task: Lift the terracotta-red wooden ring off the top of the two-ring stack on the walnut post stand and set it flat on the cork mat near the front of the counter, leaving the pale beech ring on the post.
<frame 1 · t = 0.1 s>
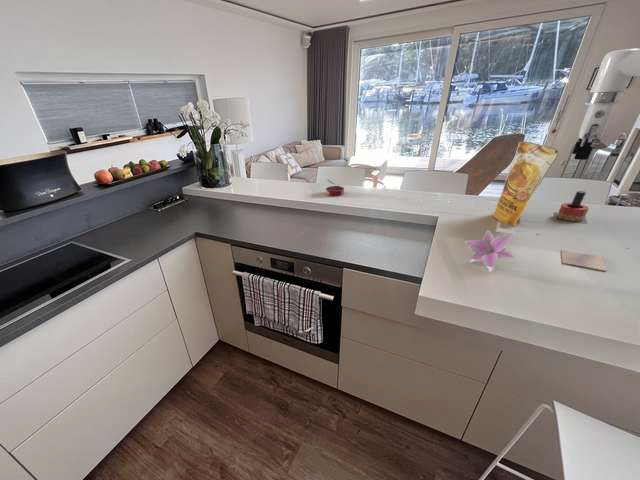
hand: (579, 156, 97), 23 cm above the countertop, tool pointing down, fingers open, 9 cm apart
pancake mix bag: (507, 221, 112), on the countertop
top ring: (571, 212, 106), point 3 cm above the countertop, touching bottom ring
cork mat: (581, 260, 84), on the countertop
bottom ring: (569, 217, 107), point 1 cm above the countertop, touching post stand, top ring
post stand: (568, 220, 107), on the countertop
red bowl with spoon: (334, 194, 161), on the countertop
lily: (484, 263, 88), on the countertop
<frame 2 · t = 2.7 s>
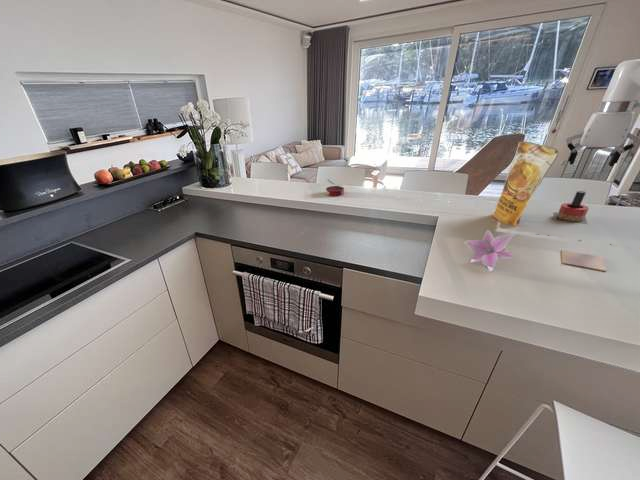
hand: (590, 164, 97), 20 cm above the countertop, tool pointing down, fingers open, 9 cm apart
nothing on the countertop moved.
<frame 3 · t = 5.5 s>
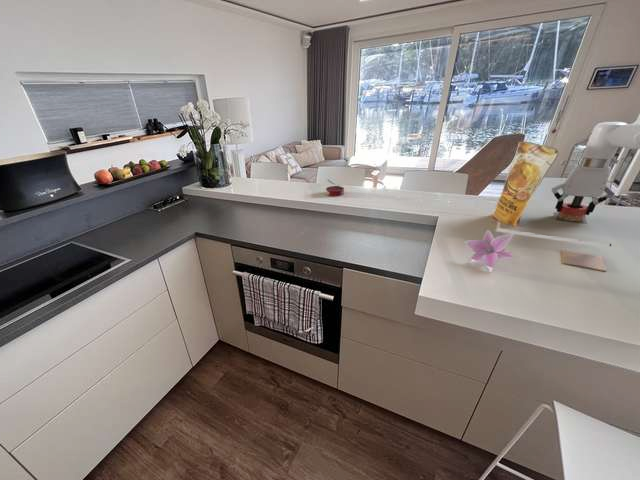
hand: (572, 212, 106), 3 cm above the countertop, tool pointing down, fingers closed on top ring, 7 cm apart
top ring: (571, 212, 106), point 3 cm above the countertop, touching bottom ring, gripper
everything else where it was.
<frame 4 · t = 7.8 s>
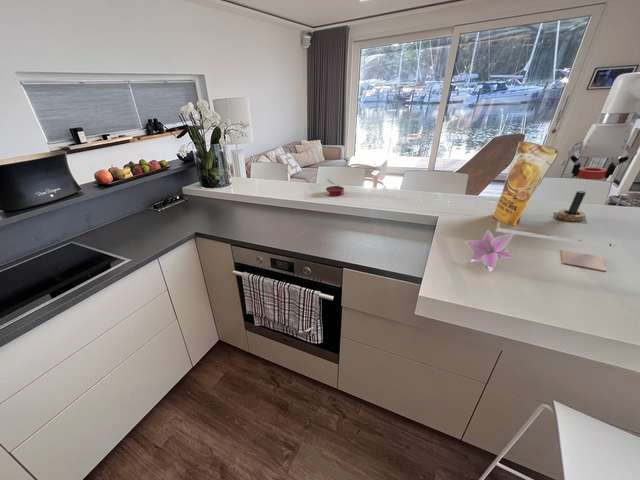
hand: (590, 176, 99), 17 cm above the countertop, tool pointing down, fingers closed on top ring, 7 cm apart
top ring: (589, 176, 99), point 16 cm above the countertop, touching gripper
bottom ring: (569, 217, 107), point 1 cm above the countertop, touching post stand
everything else where it was.
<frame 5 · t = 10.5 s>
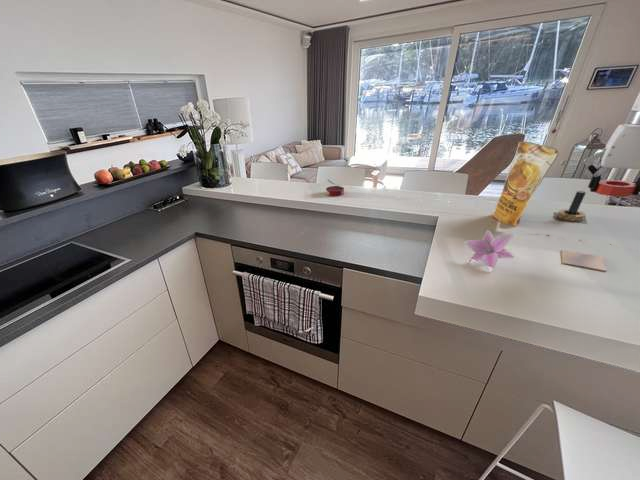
hand: (612, 191, 77), 20 cm above the countertop, tool pointing down, fingers closed on top ring, 7 cm apart
top ring: (612, 192, 77), point 19 cm above the countertop, touching gripper
everything else where it was.
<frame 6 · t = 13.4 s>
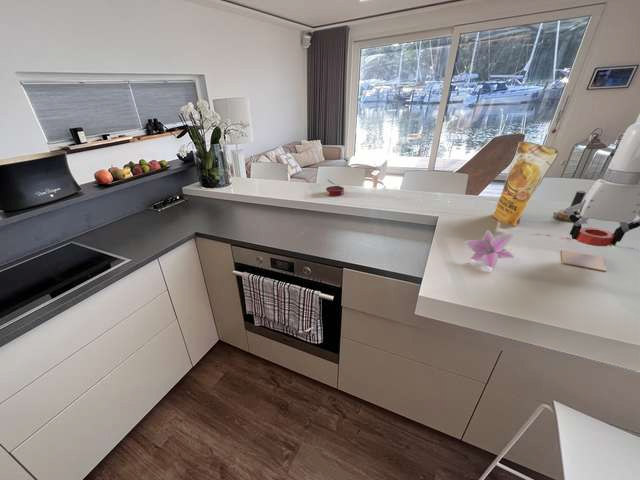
hand: (592, 239, 81), 7 cm above the countertop, tool pointing down, fingers closed on top ring, 7 cm apart
top ring: (592, 240, 81), point 7 cm above the countertop, touching gripper
everything else where it was.
when the fingers open (1 cm above the countertop, at t = 15.5 s): top ring stays where it is, resting on cork mat.
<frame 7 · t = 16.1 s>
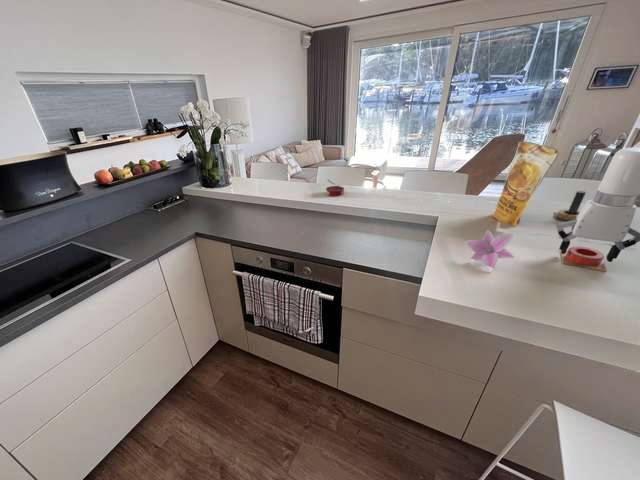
hand: (584, 255, 83), 2 cm above the countertop, tool pointing down, fingers open, 9 cm apart
top ring: (582, 259, 84), resting on cork mat
everything else where it was.
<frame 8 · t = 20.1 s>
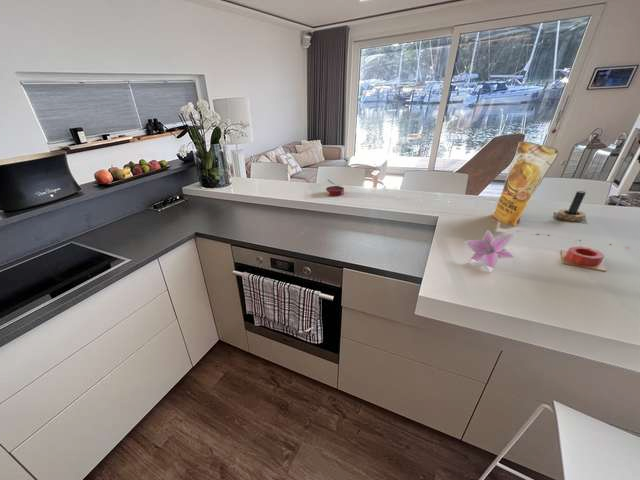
nothing on the countertop moved.
at the end: top ring 0.1 cm off-centre on the cork mat, point 0.4 cm above the cork mat's base; top ring tilted 0°; bottom ring moved 0.0 cm from its start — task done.
